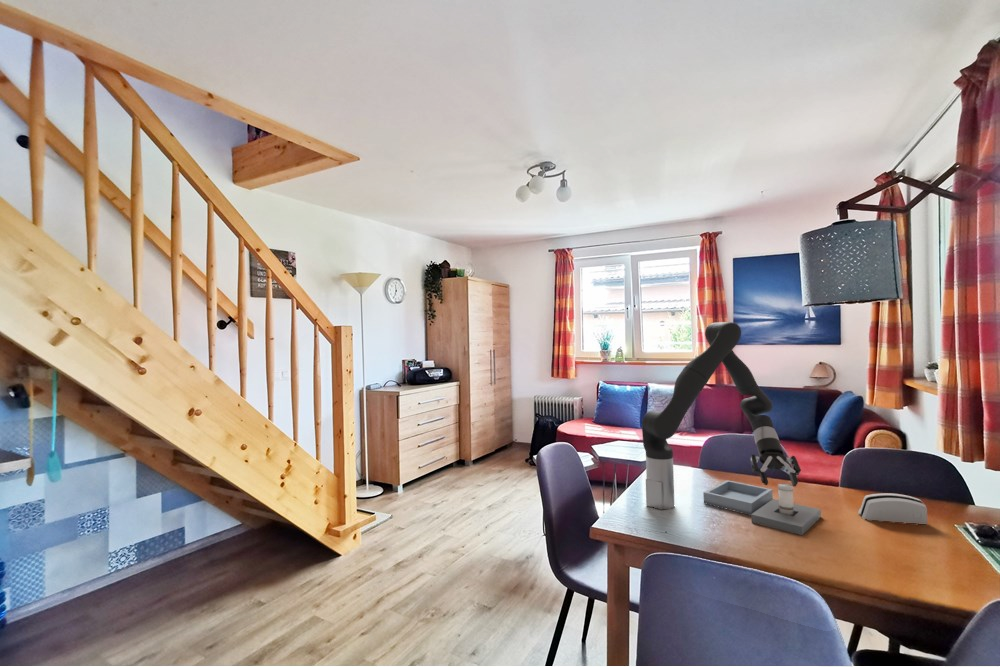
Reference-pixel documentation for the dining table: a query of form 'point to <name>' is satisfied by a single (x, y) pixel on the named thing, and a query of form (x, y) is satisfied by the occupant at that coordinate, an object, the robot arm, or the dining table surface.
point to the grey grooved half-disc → (893, 508)
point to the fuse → (785, 499)
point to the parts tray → (738, 496)
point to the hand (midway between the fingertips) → (780, 484)
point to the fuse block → (786, 517)
